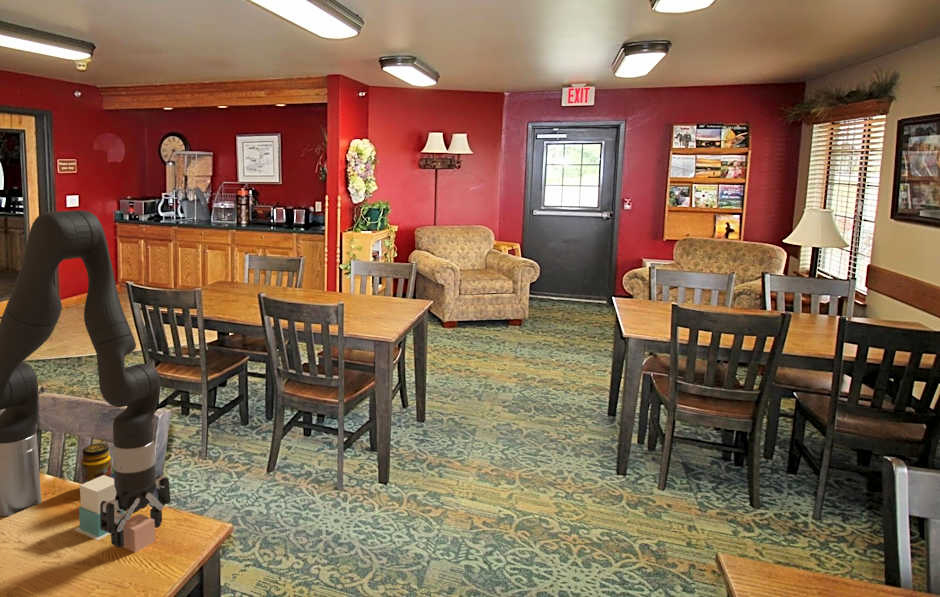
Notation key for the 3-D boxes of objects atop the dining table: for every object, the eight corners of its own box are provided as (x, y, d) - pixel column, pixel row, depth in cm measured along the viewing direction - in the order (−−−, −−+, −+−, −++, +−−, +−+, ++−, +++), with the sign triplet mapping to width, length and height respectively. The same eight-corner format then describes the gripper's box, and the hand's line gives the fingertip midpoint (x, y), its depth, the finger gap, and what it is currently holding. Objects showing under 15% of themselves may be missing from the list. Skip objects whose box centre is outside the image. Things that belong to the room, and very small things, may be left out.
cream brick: (80, 507, 134) (79, 485, 133) (104, 496, 138) (103, 474, 137) (98, 514, 131) (97, 491, 130) (121, 502, 136) (120, 481, 135)
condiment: (115, 497, 150) (113, 450, 148) (73, 505, 145) (70, 457, 143) (112, 484, 156) (110, 438, 154) (72, 491, 151) (69, 445, 149)
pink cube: (119, 545, 130) (118, 523, 129) (139, 535, 134) (139, 513, 133) (135, 552, 128) (134, 530, 127) (155, 541, 132) (154, 519, 131)
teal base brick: (80, 528, 134) (78, 507, 133) (106, 516, 140) (105, 495, 139) (98, 537, 132) (97, 515, 131) (125, 523, 137) (124, 502, 136)
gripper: (114, 481, 119) (118, 559, 122) (177, 454, 132) (179, 524, 135) (88, 472, 122) (92, 547, 125) (152, 445, 135) (155, 515, 138)
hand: (137, 535), depth 130 cm, fingers open, 8 cm apart
